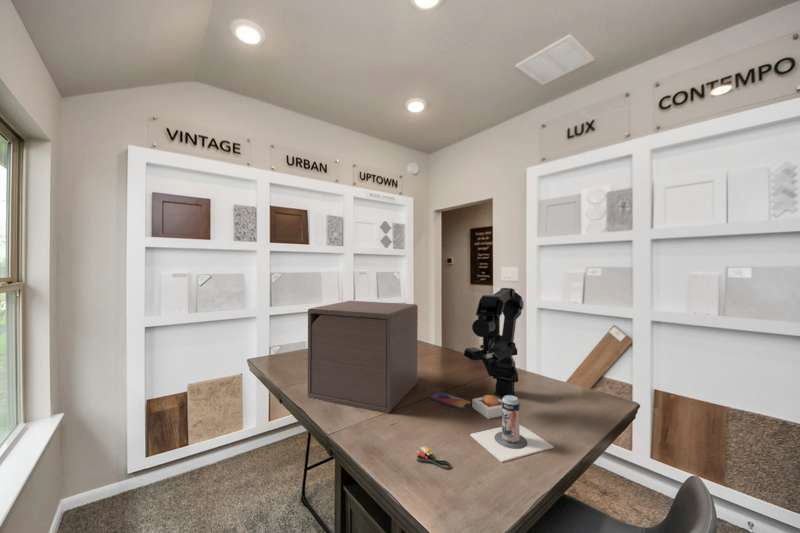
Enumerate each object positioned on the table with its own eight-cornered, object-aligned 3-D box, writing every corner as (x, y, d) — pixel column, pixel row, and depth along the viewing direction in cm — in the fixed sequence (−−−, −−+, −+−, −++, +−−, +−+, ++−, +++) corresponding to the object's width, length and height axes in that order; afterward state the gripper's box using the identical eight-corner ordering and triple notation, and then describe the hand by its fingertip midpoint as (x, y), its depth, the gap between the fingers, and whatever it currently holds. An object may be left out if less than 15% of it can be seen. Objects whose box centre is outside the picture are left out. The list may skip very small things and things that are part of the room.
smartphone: (439, 393, 127) (439, 391, 127) (473, 404, 117) (473, 401, 117) (428, 399, 122) (428, 396, 122) (462, 411, 111) (461, 408, 111)
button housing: (492, 403, 117) (492, 395, 117) (509, 414, 109) (509, 405, 109) (472, 407, 114) (472, 399, 114) (488, 418, 105) (488, 409, 105)
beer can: (498, 437, 93) (498, 396, 93) (509, 433, 95) (508, 393, 95) (512, 445, 89) (512, 402, 89) (523, 440, 91) (522, 398, 91)
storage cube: (307, 397, 121) (307, 307, 121) (347, 373, 148) (347, 300, 148) (389, 414, 108) (390, 313, 108) (417, 384, 135) (417, 304, 135)
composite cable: (453, 467, 80) (453, 458, 80) (441, 476, 77) (441, 466, 77) (423, 451, 87) (423, 442, 87) (411, 459, 84) (411, 449, 84)
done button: (492, 399, 114) (492, 394, 114) (501, 405, 110) (501, 399, 110) (480, 401, 112) (480, 396, 112) (489, 407, 108) (489, 401, 108)
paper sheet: (517, 424, 102) (517, 422, 102) (553, 447, 89) (553, 445, 89) (470, 435, 95) (470, 433, 95) (501, 462, 82) (501, 460, 82)
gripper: (483, 338, 100) (483, 388, 100) (529, 334, 107) (528, 380, 107) (463, 331, 110) (463, 376, 110) (506, 328, 117) (506, 370, 117)
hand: (490, 376), depth 111 cm, fingers closed
